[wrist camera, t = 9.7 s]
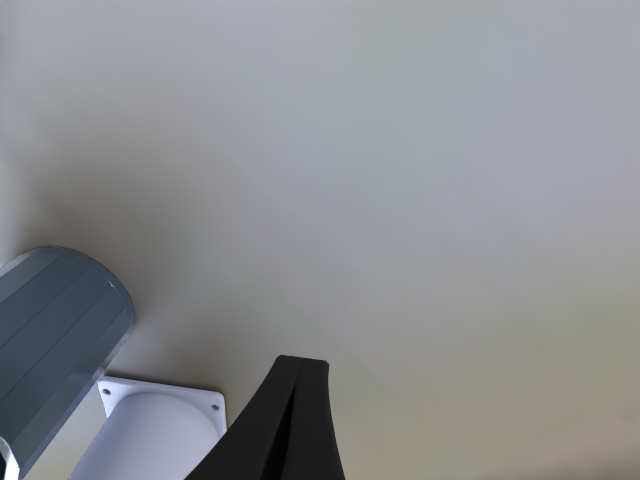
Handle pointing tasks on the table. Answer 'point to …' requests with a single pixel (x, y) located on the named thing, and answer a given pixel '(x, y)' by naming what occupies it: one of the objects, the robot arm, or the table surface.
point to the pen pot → (52, 345)
